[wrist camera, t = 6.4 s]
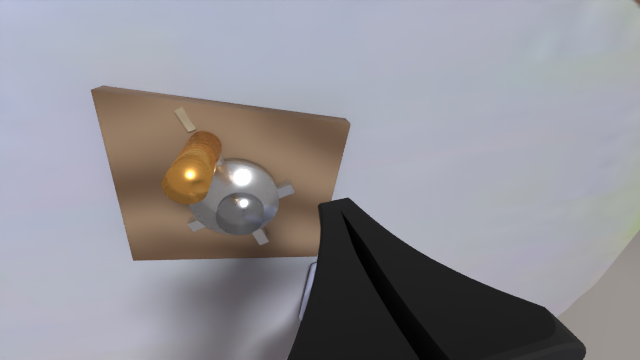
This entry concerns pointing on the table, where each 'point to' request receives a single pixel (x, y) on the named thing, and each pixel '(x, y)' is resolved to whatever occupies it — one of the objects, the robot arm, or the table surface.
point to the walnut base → (237, 142)
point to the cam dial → (223, 189)
